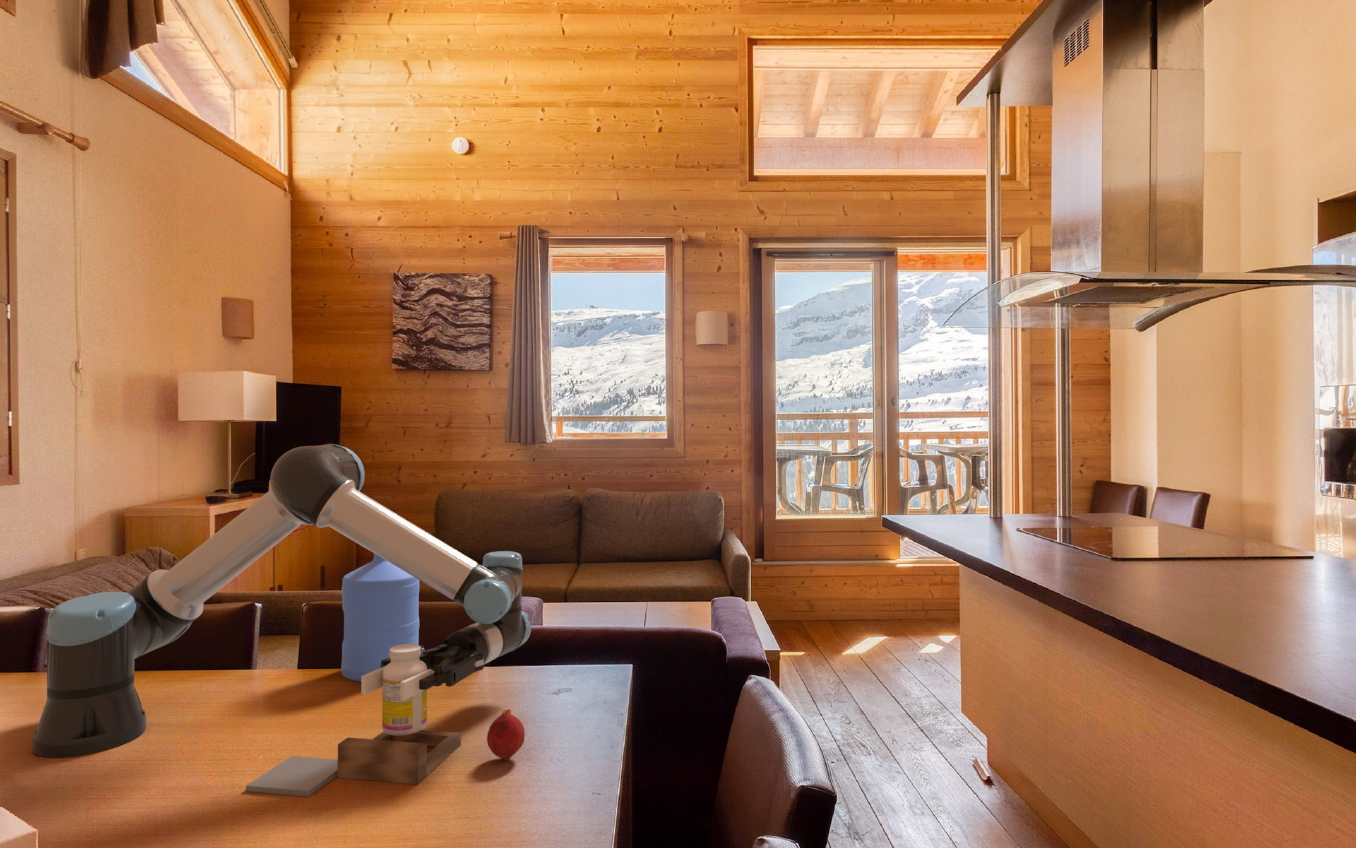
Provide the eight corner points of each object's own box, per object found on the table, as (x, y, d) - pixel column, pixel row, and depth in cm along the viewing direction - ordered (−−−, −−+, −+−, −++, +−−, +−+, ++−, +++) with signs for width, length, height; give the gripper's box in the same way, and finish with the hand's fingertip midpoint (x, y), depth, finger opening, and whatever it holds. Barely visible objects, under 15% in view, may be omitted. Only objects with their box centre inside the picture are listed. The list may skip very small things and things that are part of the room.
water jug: (434, 667, 164) (435, 539, 164) (371, 688, 151) (372, 549, 151) (388, 656, 172) (389, 534, 173) (325, 675, 159) (326, 543, 159)
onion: (515, 769, 115) (515, 717, 115) (480, 766, 116) (480, 714, 116) (530, 753, 121) (530, 704, 121) (497, 750, 122) (497, 701, 122)
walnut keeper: (337, 777, 112) (337, 744, 112) (388, 739, 126) (388, 709, 126) (418, 784, 110) (418, 750, 110) (460, 745, 124) (461, 714, 124)
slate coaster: (245, 791, 108) (245, 785, 108) (292, 761, 118) (292, 755, 118) (308, 797, 106) (308, 791, 106) (350, 765, 116) (350, 760, 116)
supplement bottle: (412, 717, 123) (413, 639, 123) (434, 728, 119) (436, 647, 119) (373, 729, 118) (374, 648, 118) (395, 741, 114) (397, 656, 114)
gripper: (518, 674, 132) (436, 722, 111) (426, 662, 139) (331, 704, 117) (519, 632, 132) (436, 671, 111) (427, 621, 139) (332, 656, 117)
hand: (382, 688), depth 114 cm, fingers closed on supplement bottle, 7 cm apart
